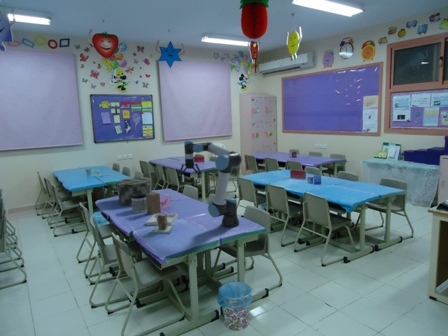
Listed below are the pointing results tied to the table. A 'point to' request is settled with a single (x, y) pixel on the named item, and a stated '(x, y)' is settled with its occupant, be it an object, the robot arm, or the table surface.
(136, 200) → the planter
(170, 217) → the tray
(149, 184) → the storage box
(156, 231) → the board
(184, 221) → the table surface
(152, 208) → the wooden block
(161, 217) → the walnut box
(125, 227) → the table surface
